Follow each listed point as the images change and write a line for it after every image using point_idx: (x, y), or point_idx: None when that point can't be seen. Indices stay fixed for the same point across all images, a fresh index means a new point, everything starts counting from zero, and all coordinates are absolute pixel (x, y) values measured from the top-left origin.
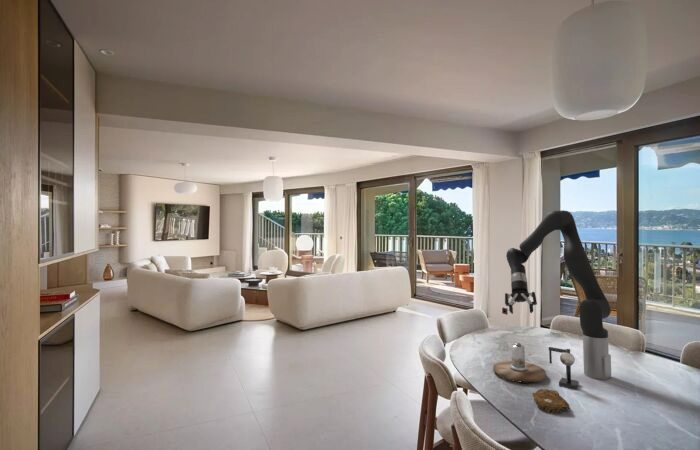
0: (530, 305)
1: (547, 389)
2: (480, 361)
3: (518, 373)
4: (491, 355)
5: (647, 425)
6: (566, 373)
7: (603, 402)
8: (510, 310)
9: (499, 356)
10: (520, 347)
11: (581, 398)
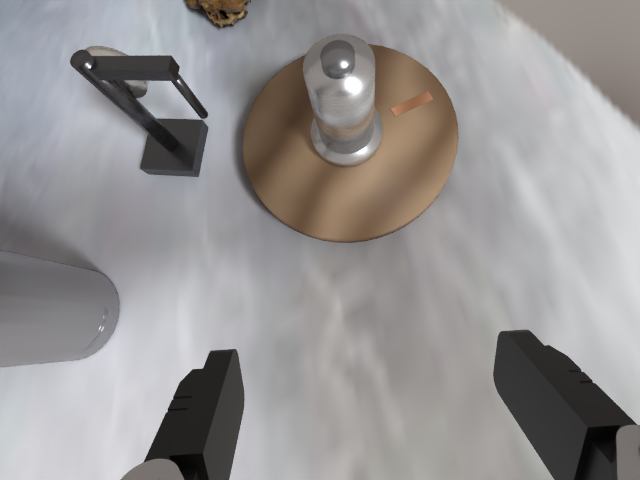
0: (184, 433)
1: (228, 6)
2: (552, 216)
3: None
4: None
5: (31, 11)
6: (161, 124)
7: None
8: (547, 355)
9: None
10: (320, 45)
11: None
